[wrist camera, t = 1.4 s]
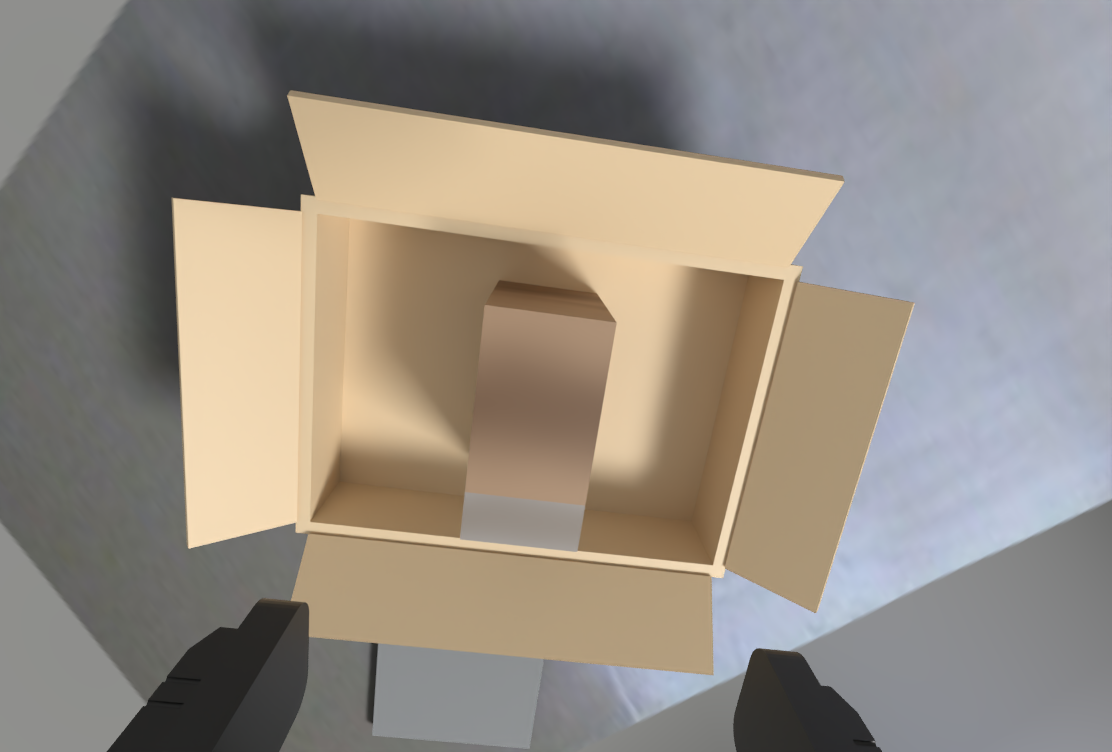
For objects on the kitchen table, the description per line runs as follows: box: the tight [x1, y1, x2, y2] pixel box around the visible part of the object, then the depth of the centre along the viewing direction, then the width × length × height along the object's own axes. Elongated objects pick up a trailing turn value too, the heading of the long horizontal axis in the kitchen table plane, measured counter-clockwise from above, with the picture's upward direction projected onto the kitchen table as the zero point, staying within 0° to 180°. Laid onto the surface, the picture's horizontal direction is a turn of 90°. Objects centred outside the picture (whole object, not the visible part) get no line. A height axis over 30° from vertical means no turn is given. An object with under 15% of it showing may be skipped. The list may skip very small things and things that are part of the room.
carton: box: [172, 90, 915, 675], centre depth 24 cm, size 20×26×7 cm
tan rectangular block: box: [460, 280, 617, 552], centre depth 24 cm, size 9×4×7 cm, turn 172°
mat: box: [372, 643, 544, 749], centre depth 32 cm, size 10×9×1 cm
